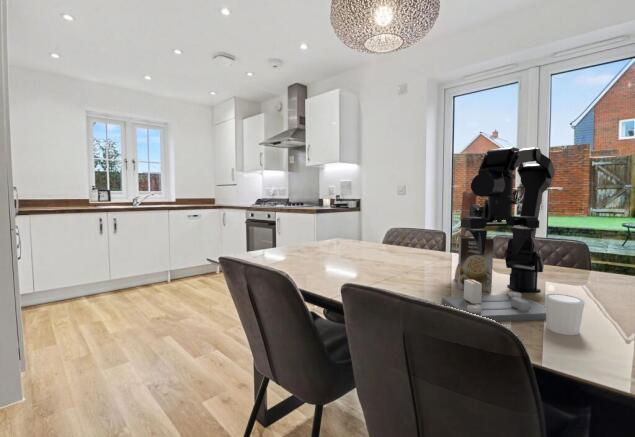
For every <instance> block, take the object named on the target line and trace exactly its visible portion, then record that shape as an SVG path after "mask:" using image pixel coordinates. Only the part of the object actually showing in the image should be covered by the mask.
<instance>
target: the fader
mask: <svg viewBox="0 0 635 437" xmlns="http://www.w3.org/2000/svg"><path fill="white" fill-rule="evenodd" d="M482 292H483V291H482V284H481V283H479V282H477V281H475V280H471V279H468V280H464V289H463V296H464V299H466V300H467V301H469V302H471V303H481V296H482Z"/></svg>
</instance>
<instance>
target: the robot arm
mask: <svg viewBox="0 0 635 437" xmlns="http://www.w3.org/2000/svg"><path fill="white" fill-rule="evenodd" d="M483 156H484V157H483V160H482V161H481V164H480V166H479V169H478V172H477V173H478V174H477V175H475V176H474V177H473V179H472V180H471V183H470V190H471V192H473V193H474V194H475V195H477V197H481V198H483V197H484V198H485V197H487V199H485V200H484V205H483V206H480V205H479V204H476V205H472V206H470V217H463V218H462V220H461V222H460V228H461V227H463V228H465V229H466V230H467V231H470V232H471V234H472V235H473V237H474V239H475V241H476V244H477V247H478V250H479V253H480V255H484V252H485V245H486V237H488V230H487V229H485V228H486V227H500V226H501V227H507V226H508V227H509V226H511V227H509V228H510V231H511V234H512V237H511V238H509V239H508V242H507V248H506V249H505V252H504V260H505V266H506V268H507V269H510V273H509V284H507V287H508V288H510V289H512V290H514V291H516V292H519V293H534V292H535V293H536V292H537V293H538V292H541V291H542V290H541V289H540V288H538V274H539V273H543V272H544V265H545V263H544V261H543V259H542V256H541V253H540V247H539V245H538V243H537V240H536V234H537V233H536V232H537V229H539V228H540V220H539V217H540V215H539V214H540V210H541V203H542V198H543V194H544V193H545V192H546V191H547V189H548V188H550V186H551V184H552V180H553V178H554V177H555V175H556V174H555V172H556V171H555V167H554V165H553V162H552V159H551V158H549V157H548V156H546V155H545V154H543V153H542V151H541V149H540V148H539V147H527V148H522V149H520V148H518V147H514V146H512V147H503V148H493V149H489V150H487V151H486V154H485V155H483ZM530 162H536V163H532V164H525V165H524V163H530ZM516 170H517V171H516ZM514 171H516V172H517V173H518V175H519V177H520V181H519V182H520V183H521V185H522V187H523V189H524V191H523V192H524V194H523V199H522V202H521V203H522V204H521V209H520V215H513V205H517V199H516V200H515V199H513V198H514V195H513V194H514V180H515V179H516V175H515V174H514Z"/></svg>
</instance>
